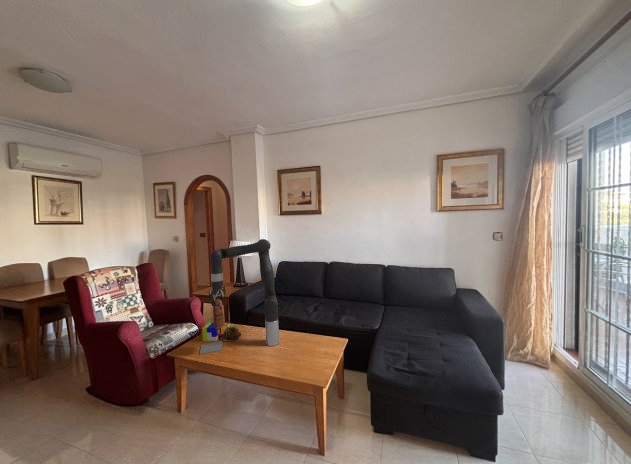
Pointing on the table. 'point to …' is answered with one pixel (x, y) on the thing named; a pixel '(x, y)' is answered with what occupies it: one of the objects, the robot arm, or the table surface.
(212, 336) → the puzzle toy
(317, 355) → the table surface
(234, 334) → the green-brown rounded mound
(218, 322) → the wooden figurine
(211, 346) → the gray square panel
